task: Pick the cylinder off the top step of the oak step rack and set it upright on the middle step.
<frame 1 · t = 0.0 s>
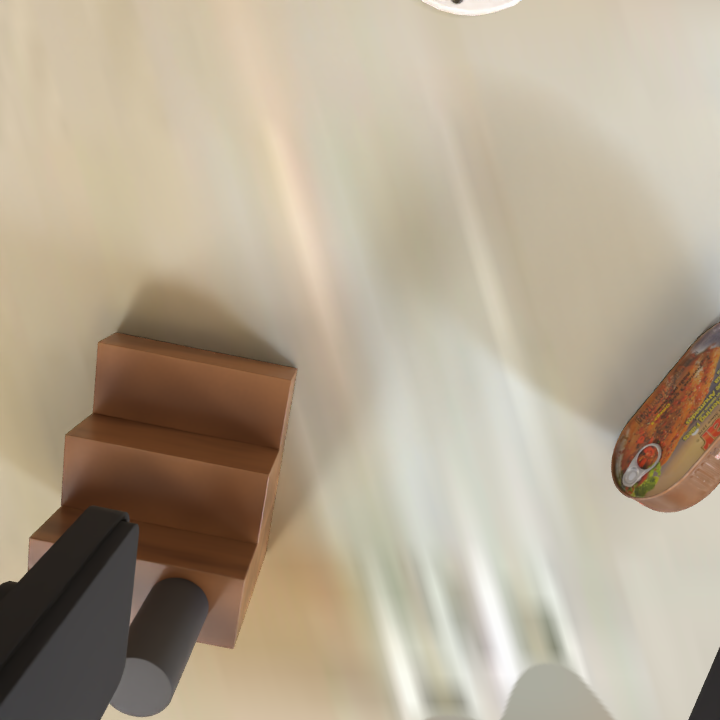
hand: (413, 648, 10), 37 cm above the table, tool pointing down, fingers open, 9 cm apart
step rack: (194, 448, 50), on the table
cylinder: (178, 603, 41), point 11 cm above the table, touching step rack
tin: (674, 393, 47), on the table
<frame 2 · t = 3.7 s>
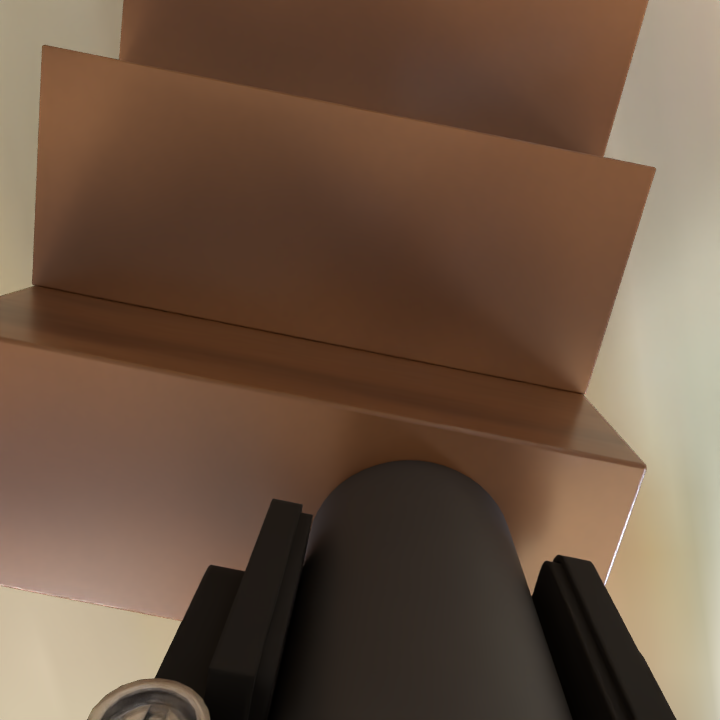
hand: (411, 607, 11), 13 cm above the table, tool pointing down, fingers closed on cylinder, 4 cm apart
step rack: (348, 213, 21), on the table
cylinder: (409, 550, 12), point 11 cm above the table, touching gripper, step rack
when the fingers open (9 cm above the table, at t = 10.7 s): cylinder stays where it is, resting on step rack.
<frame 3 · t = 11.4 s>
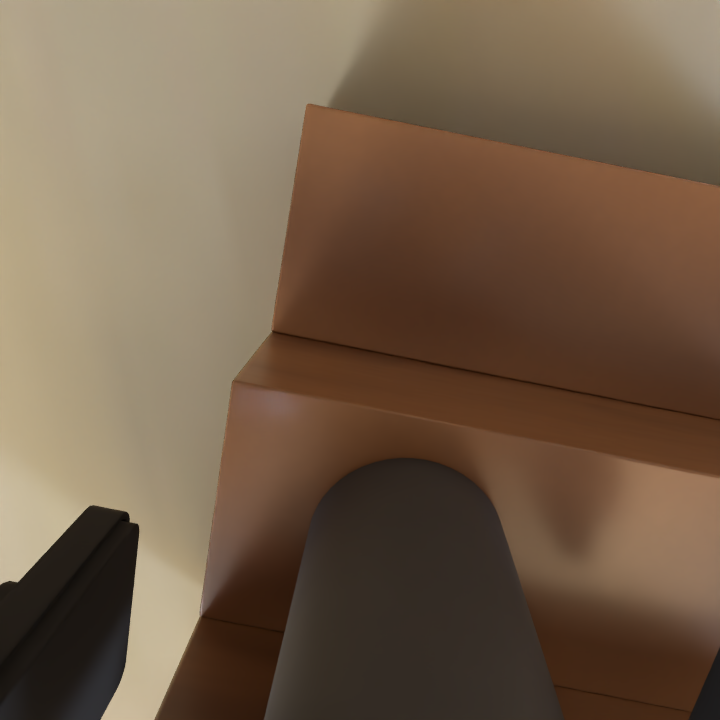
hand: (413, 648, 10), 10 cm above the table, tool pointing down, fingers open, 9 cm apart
step rack: (495, 437, 20), on the table
cylinder: (405, 546, 13), point 7 cm above the table, touching step rack
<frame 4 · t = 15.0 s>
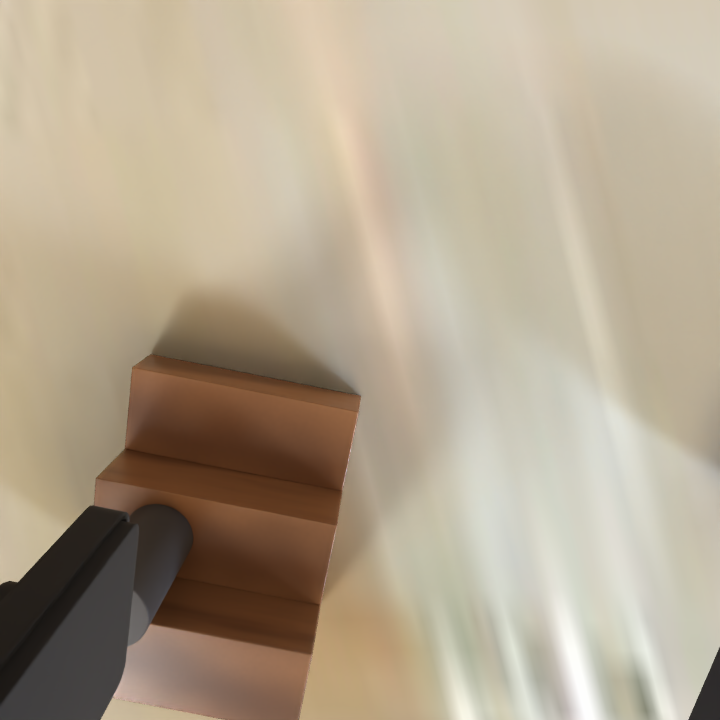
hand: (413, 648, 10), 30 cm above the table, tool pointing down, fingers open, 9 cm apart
step rack: (238, 486, 43), on the table
cylinder: (159, 534, 36), point 7 cm above the table, touching step rack
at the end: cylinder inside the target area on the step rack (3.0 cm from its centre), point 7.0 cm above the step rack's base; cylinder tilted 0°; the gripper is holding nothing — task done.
